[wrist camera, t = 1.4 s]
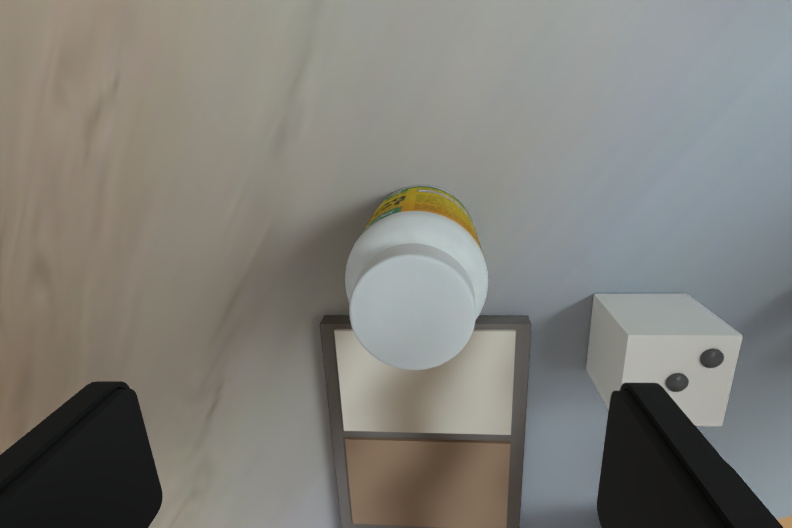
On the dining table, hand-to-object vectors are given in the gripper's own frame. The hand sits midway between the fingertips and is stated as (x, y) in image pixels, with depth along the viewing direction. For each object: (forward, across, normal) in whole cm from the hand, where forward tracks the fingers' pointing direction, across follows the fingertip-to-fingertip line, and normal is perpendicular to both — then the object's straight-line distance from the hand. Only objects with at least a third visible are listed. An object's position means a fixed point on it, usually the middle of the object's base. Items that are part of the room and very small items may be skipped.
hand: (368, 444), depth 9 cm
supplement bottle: (+15, -1, 0) cm, 15 cm away
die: (+15, -12, +5) cm, 20 cm away
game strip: (+15, -1, +15) cm, 21 cm away
